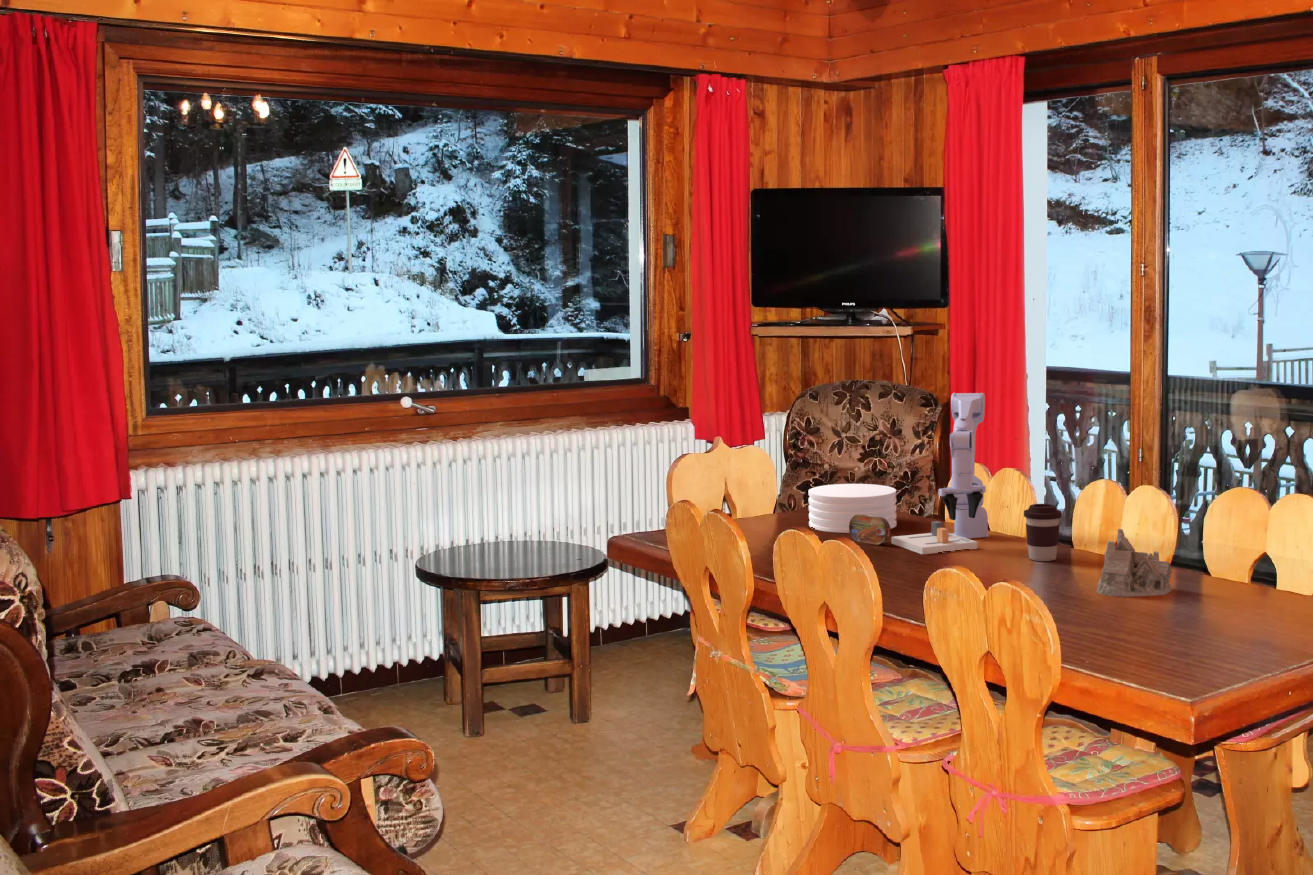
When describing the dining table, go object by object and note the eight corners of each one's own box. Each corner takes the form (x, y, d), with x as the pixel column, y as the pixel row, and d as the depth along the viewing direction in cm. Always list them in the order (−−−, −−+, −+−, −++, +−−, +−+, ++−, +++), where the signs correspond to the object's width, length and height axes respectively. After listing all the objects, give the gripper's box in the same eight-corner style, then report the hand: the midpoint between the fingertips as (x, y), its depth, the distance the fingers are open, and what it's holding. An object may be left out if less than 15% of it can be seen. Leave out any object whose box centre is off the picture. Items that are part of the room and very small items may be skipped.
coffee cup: (1063, 563, 346) (1063, 508, 344) (1025, 562, 348) (1025, 508, 346) (1059, 555, 356) (1059, 502, 354) (1022, 555, 358) (1022, 502, 356)
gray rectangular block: (937, 533, 382) (937, 520, 381) (942, 535, 379) (942, 522, 378) (931, 534, 381) (931, 521, 381) (936, 535, 378) (936, 523, 378)
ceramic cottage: (1087, 591, 313) (1092, 531, 311) (1117, 582, 324) (1122, 524, 322) (1149, 605, 302) (1155, 543, 300) (1178, 595, 314) (1184, 535, 312)
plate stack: (801, 532, 403) (801, 496, 402) (816, 516, 430) (816, 483, 428) (891, 534, 395) (890, 497, 394) (900, 518, 422) (900, 484, 420)
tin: (848, 540, 387) (848, 513, 386) (855, 538, 389) (855, 511, 388) (885, 547, 375) (884, 519, 374) (892, 545, 377) (892, 517, 376)
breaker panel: (944, 538, 385) (944, 531, 385) (977, 548, 368) (977, 541, 368) (891, 543, 380) (891, 536, 380) (922, 554, 363) (922, 547, 363)
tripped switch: (943, 540, 371) (942, 527, 370) (948, 542, 368) (948, 529, 368) (936, 541, 370) (936, 528, 370) (942, 543, 367) (942, 529, 367)
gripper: (947, 475, 363) (947, 522, 364) (991, 472, 367) (991, 518, 369) (934, 472, 370) (934, 519, 371) (978, 469, 374) (978, 514, 376)
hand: (962, 518), depth 370 cm, fingers open, 6 cm apart
